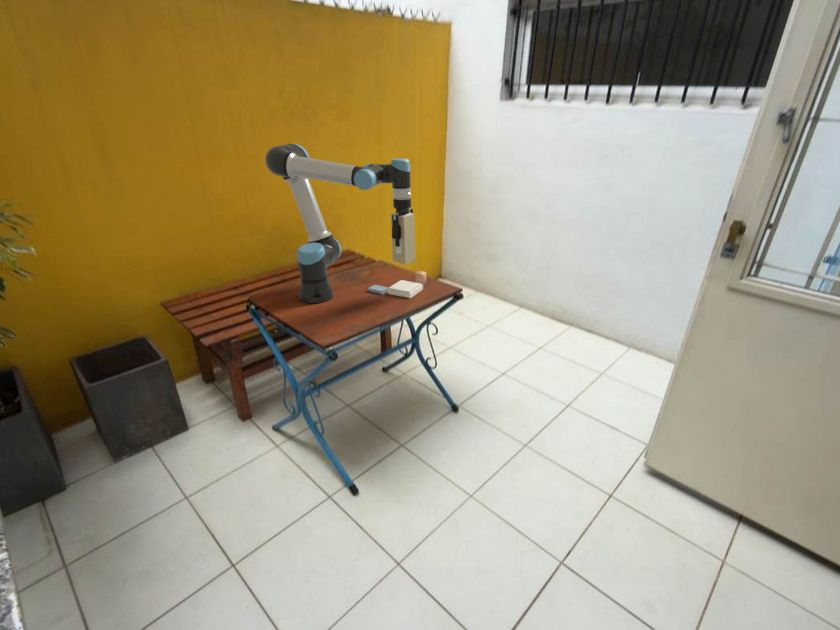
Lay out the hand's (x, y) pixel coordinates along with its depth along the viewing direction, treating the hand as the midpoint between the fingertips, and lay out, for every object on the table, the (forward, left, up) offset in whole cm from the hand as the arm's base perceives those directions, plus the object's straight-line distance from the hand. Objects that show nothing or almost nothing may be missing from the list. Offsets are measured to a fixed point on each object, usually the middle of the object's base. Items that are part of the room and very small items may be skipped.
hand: (404, 250), depth 190 cm
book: (-12, -5, -20) cm, 24 cm away
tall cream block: (0, 0, -5) cm, 5 cm away
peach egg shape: (+2, +10, -20) cm, 22 cm away
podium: (0, 0, -19) cm, 19 cm away
